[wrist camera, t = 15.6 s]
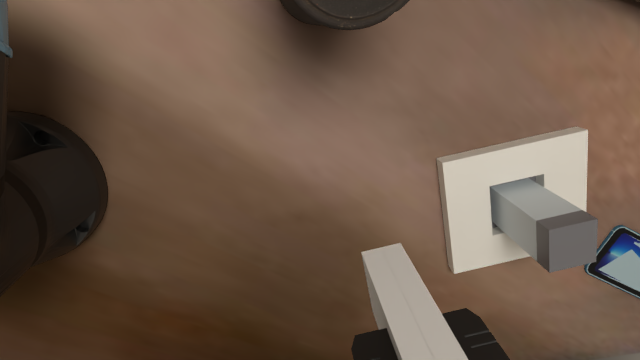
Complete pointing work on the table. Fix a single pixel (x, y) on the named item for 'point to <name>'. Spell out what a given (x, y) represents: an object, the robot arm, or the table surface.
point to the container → (343, 12)
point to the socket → (499, 168)
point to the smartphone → (619, 260)
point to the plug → (544, 224)
